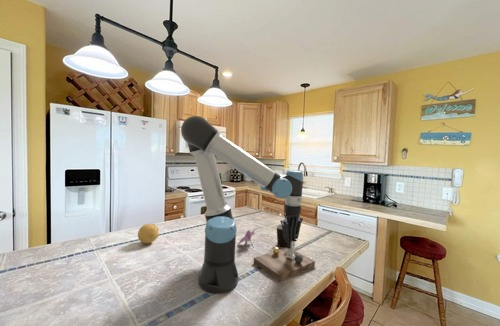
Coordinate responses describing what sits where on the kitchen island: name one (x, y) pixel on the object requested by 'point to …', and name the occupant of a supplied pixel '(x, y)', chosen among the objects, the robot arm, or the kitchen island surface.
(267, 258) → the board
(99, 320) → the kitchen island surface
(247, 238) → the lily
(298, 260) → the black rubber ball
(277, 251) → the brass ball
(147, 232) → the stress ball
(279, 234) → the coffee mug
